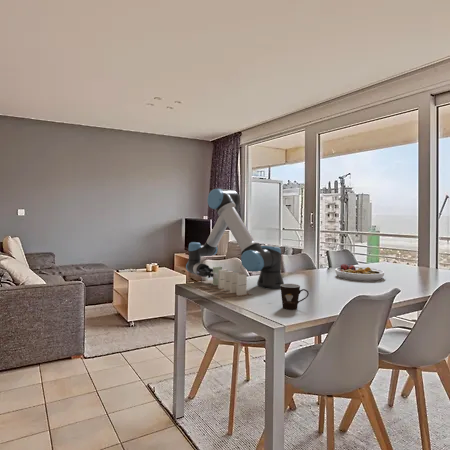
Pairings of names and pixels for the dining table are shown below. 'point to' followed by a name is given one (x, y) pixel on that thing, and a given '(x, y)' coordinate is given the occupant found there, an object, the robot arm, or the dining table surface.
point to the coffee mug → (291, 296)
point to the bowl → (359, 273)
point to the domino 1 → (215, 270)
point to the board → (220, 292)
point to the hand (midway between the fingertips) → (221, 275)
